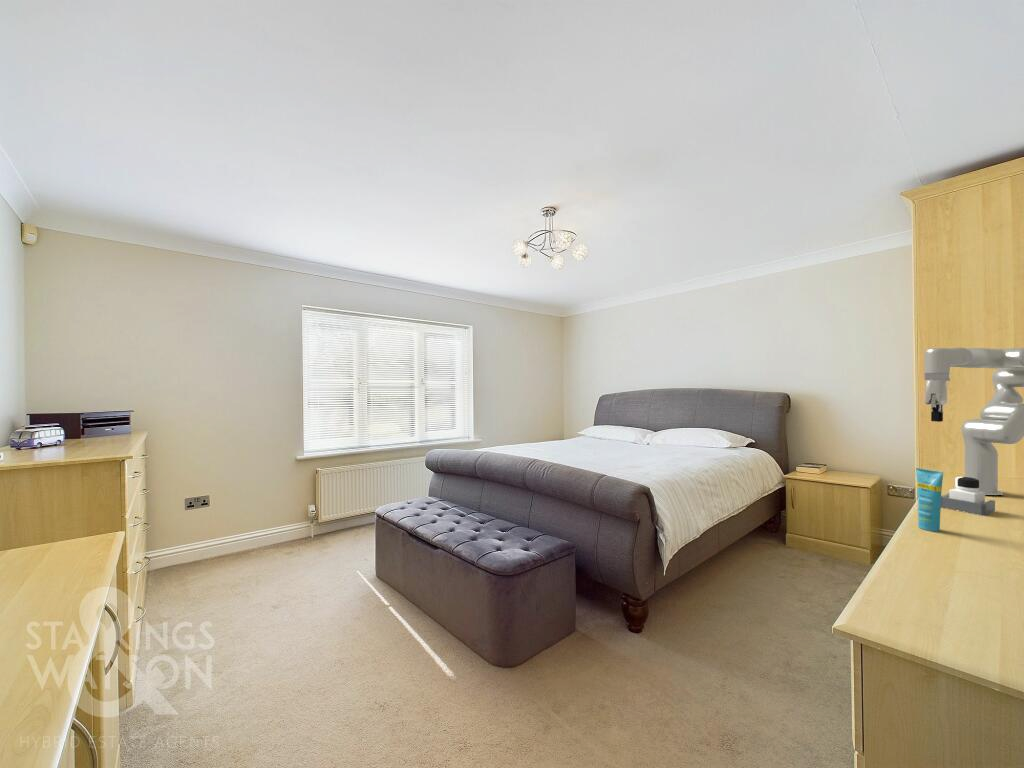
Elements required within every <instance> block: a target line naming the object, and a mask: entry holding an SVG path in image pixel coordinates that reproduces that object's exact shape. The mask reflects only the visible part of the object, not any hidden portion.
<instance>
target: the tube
mask: <svg viewBox="0 0 1024 768" xmlns="http://www.w3.org/2000/svg"><path fill="white" fill-rule="evenodd" d="M915 469H916V471H915V472H916V481H917V487H916V488H917V506H918V507H917V508H918V509H917V511H918V512H917V513H918V514H917V517H918V519H917V520H918V522H917V523H918V528H920V529H922V530H924V531H928V532H935V531H936V532H940V529H941V509H942V508H941V496H942V491H943V490H942V489H943V478H944V471H939V470H930V469H925V468H919V467H915Z"/></svg>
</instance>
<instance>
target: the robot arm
mask: <svg viewBox="0 0 1024 768" xmlns="http://www.w3.org/2000/svg"><path fill="white" fill-rule="evenodd" d="M951 368H966V369H967V368H968V369H969V368H970V369H973V368H974V369H994V370H995V369H996V370H995V371H994V372H993V374H992V376H991V380H992V385H993V389H994V395H993V396H992V398H991V399H990V400H989V401H988V402H987V403H986V404H985V406H984V407H982V409H981V410H980V413H979V418H971V419H968V420H965V421H964V422H963V423H962V424H961V428H960V429H961V434H962V437H963V443H964V477H970V478H975V479H977V480H979V490H978V491H982V492H985V496H986V495H1001V494H1003V495H1004V492H1002V491H1000V490H998V487H999V486H998V485H999V483H998V482H999V481H998V479H999V478H998V477H999V454H998V451H997V449H996V447H995V446H994V445H993V444H1003V445H1013V444H1017V443H1018V442H1020V441H1021V440H1022V439H1023V438H1024V403H1023V401H1024V398H1023V397H1022V395H1021V393H1020V392H1018V391H1017V389H1016V388H1024V347H1016V348H1015V347H1014V348H1013V347H1012V348H986V347H985V348H984V347H974V348H973V347H971V348H965V347H935V348H934V347H932V348H927V349H925V350H924V382H926V384H925V394H924V404H925V405H930V411H931V413H930V416H931V417H930V421H931V422H937V423H940V422H941V423H942V422H943V421H944V405H946V404H947V403H948V382H950V381H951Z"/></svg>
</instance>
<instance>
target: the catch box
mask: <svg viewBox="0 0 1024 768" xmlns="http://www.w3.org/2000/svg"><path fill="white" fill-rule="evenodd" d="M949 494H950V492H948V493H946V494H943V495H941V507H943V508H942V509H945V508H948V509H947V510H950V509H954V510H953V511H956V510H959V511H958V512H961V511H965V512H964V513H966V512H968V514H972V513H973V514H972V515H977V514H978V516H984V517H987V516H989V515H990V514H993V513H994V511H996V500H994V499H989V500H987V501H985V503H983V504H981V503H975V502H969V501H964V500H958V499H952V498H949Z"/></svg>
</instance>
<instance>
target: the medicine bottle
mask: <svg viewBox="0 0 1024 768" xmlns="http://www.w3.org/2000/svg"><path fill="white" fill-rule="evenodd" d="M954 481H955V482H954V485H955V488H951V489H949V493H950V494H949V498H952V499H958V500H964V501H969V502H975V503H981V504H983V503H985V502H986V495H985V492H982V491H978V490H979V480H977V479H975V478H970V477H965V476H957V477H955V479H954Z"/></svg>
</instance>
